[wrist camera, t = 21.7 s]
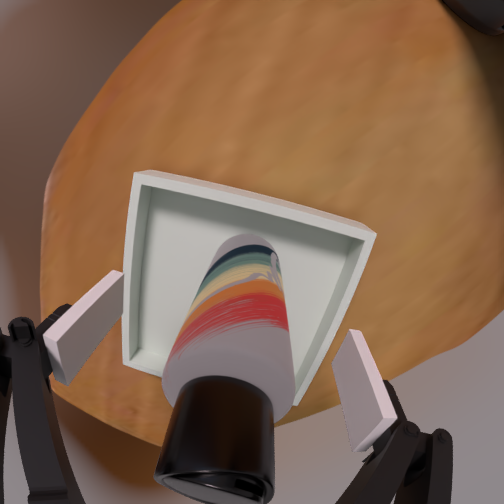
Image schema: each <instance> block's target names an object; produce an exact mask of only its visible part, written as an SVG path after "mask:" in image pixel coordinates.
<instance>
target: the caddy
mask: <svg viewBox="0 0 504 504" xmlns="http://www.w3.org/2000/svg"><path fill="white" fill-rule="evenodd" d="M240 234H253V235H256V236H259V237H261V238H263V239H265V240H266V241H267V242H269V243H270V244H271V245H272V247H273V248H274V249H275V251H276V253H277V256H278V259H279V263H280V268H281V275H282V282H283V289H284V296H285V304H286V311H287V318H288V326H289V334H290V341H291V349H292V358H293V366H294V376H295V398H294V402H293V405H295V406H298V404H299V402H300V401H301V399H302V397H303V395H304V394H305V392H306V390H307V388H308V386H309V385H310V383H311V381H312V379H313V377H314V375H315V374H316V372H317V370H318V368H319V366H320V364H321V362H322V360H323V358H324V356H325V354H326V352H327V351H328V349H329V346H330V344H331V342H332V340H333V338H334V336H335V334H336V332H337V330H338V328H339V326H340V324H341V321H342V319H343V317H344V315H345V313H346V310H347V308H348V306H349V304H350V301H351V299H352V297H353V294H354V292H355V290H356V287H357V285H358V282H359V280H360V277H361V275H362V272H363V270H364V267H365V265H366V262H367V260H368V257H369V254H370V252H371V249H372V246H373V243H374V241H375V238H376V235H377V234H376V233H375V232H374V231H372V230H371V229H370V228H368V227H367V226H366V225H364V224H363V223H360V222H357V221H354V220H351V219H347V218H344V217H341V216H338V215H334V214H331V213H328V212H324V211H321V210H317V209H314V208H310V207H307V206H303V205H300V204H296V203H293V202H289V201H285V200H282V199H278V198H274V197H270V196H266V195H262V194H259V193H255V192H251V191H247V190H243V189H238V188H234V187H230V186H226V185H222V184H217V183H213V182H208V181H204V180H199V179H195V178H190V177H185V176H181V175H176V174H171V173H166V172H161V171H155V170H146V171H140V172H134V176H133V182H132V188H131V195H130V202H129V210H128V218H127V227H126V238H125V249H124V263H123V273H124V299H123V314H122V351H123V364H124V365H127V366H129V367H132V368H135V369H138V370H141V371H144V372H147V373H150V374H153V375H156V376H159V377H162V374H163V370H164V367H165V364H166V362H167V359H168V357H169V354H170V352H171V349H172V347H173V345H174V342H175V340H176V338H177V336H178V333H179V331H180V329H181V327H182V324H183V322H184V320H185V318H186V315H187V313H188V311H189V309H190V307H191V304H192V302H193V300H194V298H195V296H196V294H197V291H198V289H199V287H200V285H201V283H202V281H203V278H204V276H205V274H206V272H207V270H208V268H209V266H210V264H211V261H212V259H213V257H214V255H215V253H216V252H217V250H218V248H219V247H220V246H221V245H222V244H223V243H224V242H225V241H226V240H227V239H229V238H231V237H233V236H236V235H240Z"/></svg>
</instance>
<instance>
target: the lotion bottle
mask: <svg viewBox="0 0 504 504" xmlns="http://www.w3.org/2000/svg"><path fill="white" fill-rule="evenodd" d="M162 388H163V391H164V394H165V396H166V398H167V400H168V401H169V403H170V404H171V406H172V407H173V408H174V409H173V412H172V415H171V419H170V422H169V425H168V429H167V432H166V435H165V439H164V442H163V445H162V449H161V452H160V456H159V459H158V463H157V466H156V470H155V474H154V479H155V481H157V482H158V483H160V484H161V485H163V486H165V487H167V488H169V489H171V490H173V491H175V492H177V493H180V494H182V495H184V496H186V497H189V498H191V499H194V500H196V501H199V502H202V503H205V504H267V503H269V502H270V501H271V499H272V498H273V496H274V491H275V467H274V466H275V461H274V423H276V422H277V421H279V420H280V419H281V418H283V417H284V416H285V415H286V414H287V413H288V411H289V410H290V408H291V407H292V405H293V402H294V398H295V376H294V366H293V358H292V349H291V341H290V334H289V326H288V318H287V311H286V304H285V296H284V289H283V282H282V275H281V268H280V263H279V259H278V256H277V253H276V251H275V249H274V248H273V247H272V245H271V244H270V243H269V242H267V241H266V240H265V239H263V238H261V237H259V236H256V235H253V234H240V235H236V236H233V237H231V238H229V239H227V240H226V241H225V242H224V243H223V244H222V245H221V246H220V247H219V248H218V250H217V252H216V253H215V255H214V257H213V259H212V261H211V264H210V266H209V268H208V270H207V272H206V274H205V276H204V278H203V281H202V283H201V285H200V287H199V289H198V291H197V294H196V296H195V298H194V300H193V302H192V304H191V307H190V309H189V311H188V313H187V315H186V318H185V320H184V322H183V324H182V327H181V329H180V331H179V333H178V336H177V338H176V340H175V342H174V345H173V347H172V349H171V352H170V354H169V357H168V359H167V362H166V364H165V367H164V370H163V374H162Z"/></svg>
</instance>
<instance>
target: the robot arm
mask: <svg viewBox="0 0 504 504" xmlns="http://www.w3.org/2000/svg"><path fill="white" fill-rule="evenodd" d="M443 1H444V2H445V3H446V4H447V5H448V6H449V7H450V8H451V9H452V10H453V11H454V12H455V13H456V14H457V15H458V16H459V17H460V18H462V19H463V20H464V21H465V22H467V23H468V24H469V25H471V26H472V27H474V28H475V29H477V30H478V31H480V32H482V33H485V34H487V35H492V36H494V35H498V34H501V33H504V0H443ZM123 299H124V273H121V272H118V271H115V270H112V271H111V272H110V273H109V274H108V275H106V276H105V277H104V278H103V279H102V280H101V281H100V282H98V283H97V284H96V285H95V286H94V287H93V288H92V289H91V290H89V291H88V292H87V293H86V294H85V295H84V296H83V297H82V298H81V299H79V300H78V301H77V302H76V303H75V304H74V305H73V306H72V305H69V304H65V305H62V306H60V307H58V308H57V309H56V310H55V311H54V312H53V314H51V315H49V316H48V318H46V319H45V320H44V321H43V322H42V323H41V324H40V325H39V326H38V327H37V328H36V329H35V327H34V323H33V321H32V320H31V319H29V318H27V317H18V318H15V319H13V320H12V321H11V322H10V323H9V325H8V330H9V333H10V336H6V335H3V334H2V331H1V328H0V504H4V489H3V464H4V445H5V434H6V426H7V418H8V411H9V405H10V399H11V394H12V392H13V406H14V416H15V424H16V431H17V438H18V444H19V449H20V454H21V459H22V463H23V467H24V472H25V476H26V480H27V483H28V486H29V490H30V494H29V495H28V504H86V503H85V501H84V499H83V497H82V494H81V492H80V489H79V487H78V484H77V482H76V479H75V477H74V474H73V471H72V468H71V465H70V463H69V460H68V456H67V453H66V450H65V446H64V443H63V439H62V436H61V432H60V428H59V424H58V420H57V416H56V411H55V407H54V401H53V396H52V390H51V384H50V379H49V375H50V374H51V373H52V371H53V374H54V377H55V380H57V381H59V382H61V383H63V384H64V385H66V386H69V384H70V383H71V381H72V380H73V379H74V377H75V376H76V374H77V373H78V372H79V370H80V369H81V368H82V366H83V365H84V363H85V362H86V361H87V359H88V358H89V357H90V355H91V354H92V353H93V351H94V350H95V349H96V347H97V346H98V345H99V344H100V342H101V341H102V340H103V338H104V337H105V336H106V334H107V333H108V332H109V331H110V329H111V328H112V327H113V325H114V324H115V323H116V322H117V320H118V319H119V318H120V317H121V315H122V314H123ZM331 364H332V368H333V372H334V376H335V380H336V384H337V388H338V392H339V396H340V400H341V405H342V409H343V413H344V417H345V422H346V426H347V431H348V435H349V440H350V445H351V449H352V452H361V451H366V450H367V449H369V447H371V446H372V445H373V449H374V451H373V452H372V453H371V454H370V455H369V456H368V457H367V458H365V459H364V460H363V461H362V462H365V461H366V462H365V463H364V465H363V466H362V468H361V469H360V471H359V472H358V474H357V475H356V477H355V478H354V480H353V481H352V482H351V484H350V485H349V486H348V488H347V489H346V490H345V492H344V493H343V494H342V496H341V497H340V498H339V499H338V501H337V502H336V503H335V504H390V503H391V501H392V499H393V497H394V496H395V494H396V496H395V500H394V504H450V503H451V491H452V473H453V445H452V444H453V443H452V442H453V441H452V437H451V435H450V434H449V432H447V431H446V430H444V429H440V428H439V429H436V430H435V431H434V432H433V433H432V434H427V433H423V432H420V429H419V428H418V426H417V425H416V424H414V423H413V422H410V421H407V419H406V416H405V414H404V412H403V409H402V407H401V404H400V402H399V401H398V400H399V399H398V397H397V396H396V392H395V390H394V388H393V386H392V385H391V384H390V383H389V382H388V380H382V378H381V376H380V373H379V371H378V369H377V366H376V364H375V362H374V359H373V357H372V355H371V353H370V350H369V348H368V346H367V344H366V342H365V339H364V337H363V335H362V333H361V331H358V330H353V329H349V331H348V333H347V335H346V337H345V339H344V341H343V343H342V345H341V347H340V348H339V350H338V352H337V354H336V356H335V358H334V360H333V361H332V363H331Z"/></svg>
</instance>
